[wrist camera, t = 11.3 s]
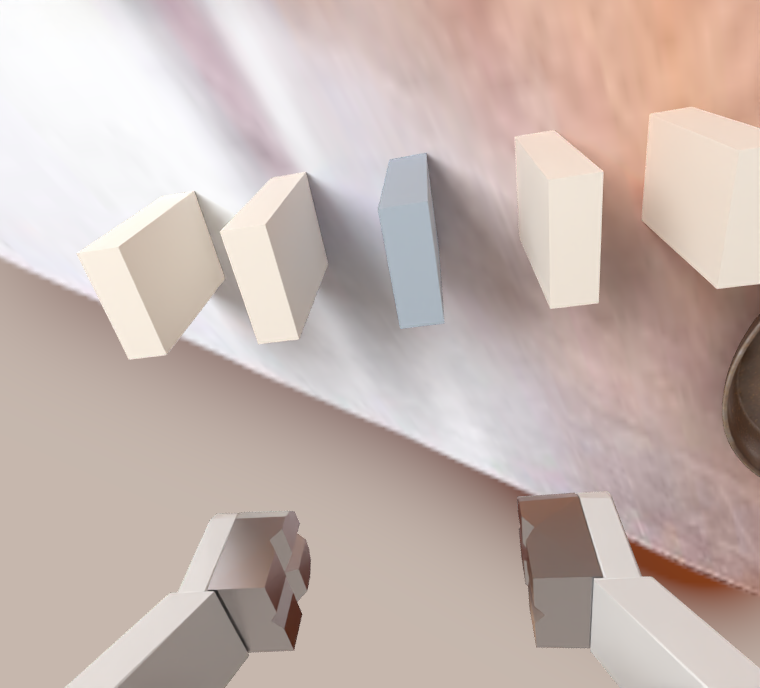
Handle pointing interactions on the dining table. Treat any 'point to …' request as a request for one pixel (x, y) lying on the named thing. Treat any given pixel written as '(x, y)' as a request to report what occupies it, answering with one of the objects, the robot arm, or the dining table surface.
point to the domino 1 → (154, 273)
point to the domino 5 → (705, 192)
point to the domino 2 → (277, 257)
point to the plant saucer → (744, 400)
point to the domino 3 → (412, 242)
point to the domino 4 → (560, 217)
